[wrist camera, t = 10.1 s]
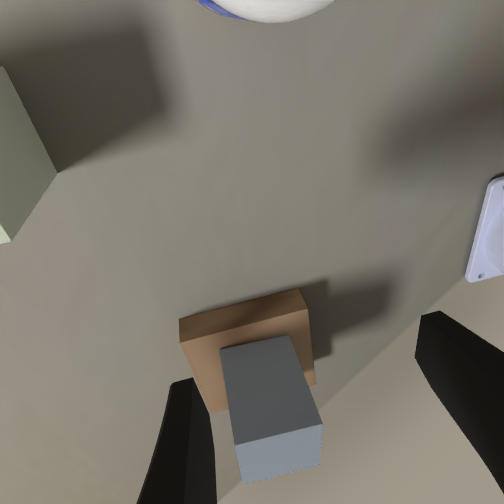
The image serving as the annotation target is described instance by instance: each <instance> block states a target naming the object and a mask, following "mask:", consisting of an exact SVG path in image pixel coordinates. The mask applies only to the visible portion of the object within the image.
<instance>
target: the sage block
mask: <svg viewBox="0 0 504 504" xmlns="http://www.w3.org/2000/svg"><path fill="white" fill-rule="evenodd" d="M56 175H57V171H56V169H55V167H54V165H53V163H52V161H51V159H50V157H49V155H48V153H47V151H46V149H45V147H44V145H43V143H42V141H41V139H40V137H39V135H38V133H37V131H36V129H35V127H34V125H33V123H32V121H31V119H30V118H29V116H28V114H27V112H26V110H25V108H24V106H23V104H22V102H21V100H20V98H19V96H18V94H17V92H16V90H15V88H14V86H13V84H12V82H11V80H10V78H9V76H8V74H7V72H6V70H5V68H4V66H2V67H0V244H2V243H6V242H10V241H12V240H13V238H14V237H15V235H16V234H17V232H18V231H19V229H20V228H21V227H22V225H23V224H24V222H25V221H26V219H27V218H28V216H29V215H30V213H31V212H32V210H33V209H34V207H35V206H36V204H37V203H38V201H39V200H40V198H41V197H42V195H43V194H44V192H45V191H46V189H47V188H48V187H49V185H50V184H51V182H52V181H53V179H54V178H55V176H56Z"/></svg>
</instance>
